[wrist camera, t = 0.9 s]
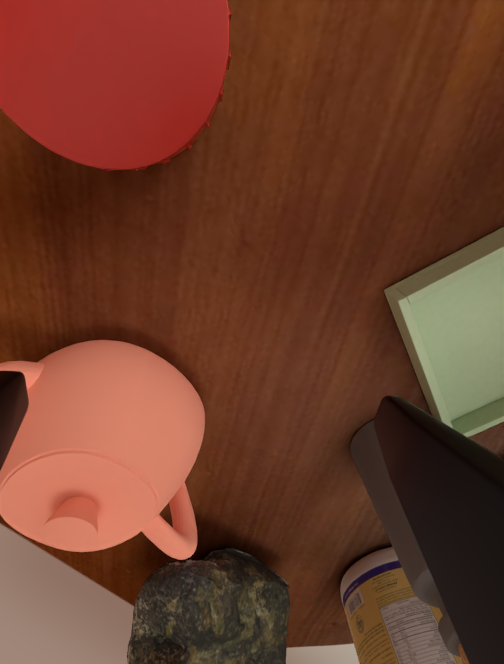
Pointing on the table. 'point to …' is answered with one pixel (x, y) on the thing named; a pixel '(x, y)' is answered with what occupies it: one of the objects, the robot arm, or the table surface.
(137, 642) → the stone
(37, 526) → the teapot
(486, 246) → the tray
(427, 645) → the supplement tub
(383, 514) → the bottle
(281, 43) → the table surface
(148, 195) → the table surface
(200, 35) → the jar lid
